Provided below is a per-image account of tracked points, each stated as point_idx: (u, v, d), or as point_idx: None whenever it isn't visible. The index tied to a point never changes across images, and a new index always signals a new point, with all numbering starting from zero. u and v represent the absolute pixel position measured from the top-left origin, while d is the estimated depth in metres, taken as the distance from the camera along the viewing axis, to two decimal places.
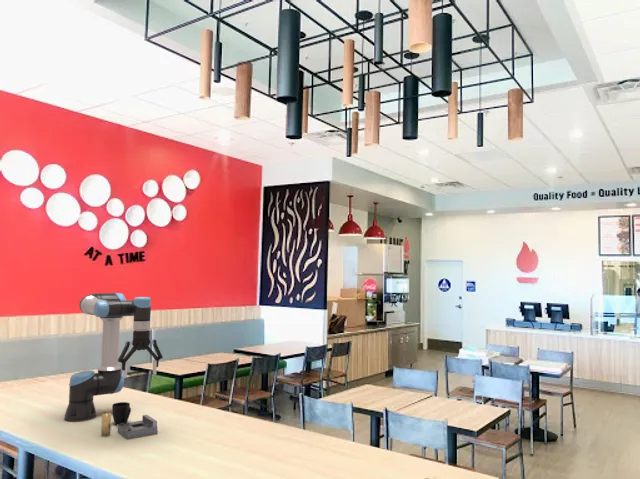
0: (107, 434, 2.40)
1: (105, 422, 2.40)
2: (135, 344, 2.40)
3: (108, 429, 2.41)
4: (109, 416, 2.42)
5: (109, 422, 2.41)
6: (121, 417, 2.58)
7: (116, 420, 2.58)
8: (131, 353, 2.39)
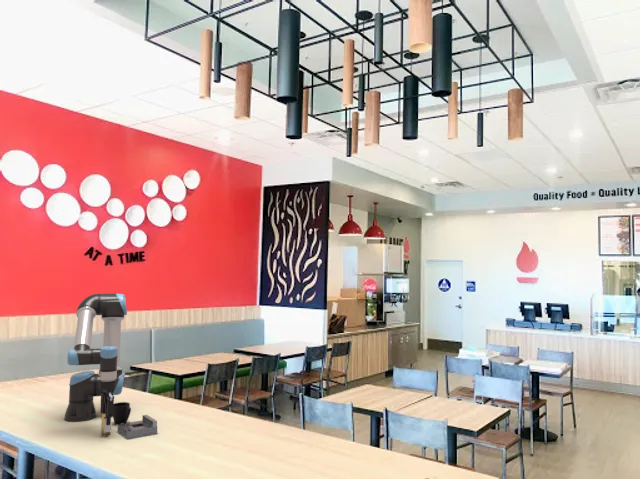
0: (107, 434, 2.40)
1: None
2: None
3: None
4: None
5: None
6: (121, 417, 2.58)
7: (116, 420, 2.58)
8: (102, 404, 2.44)
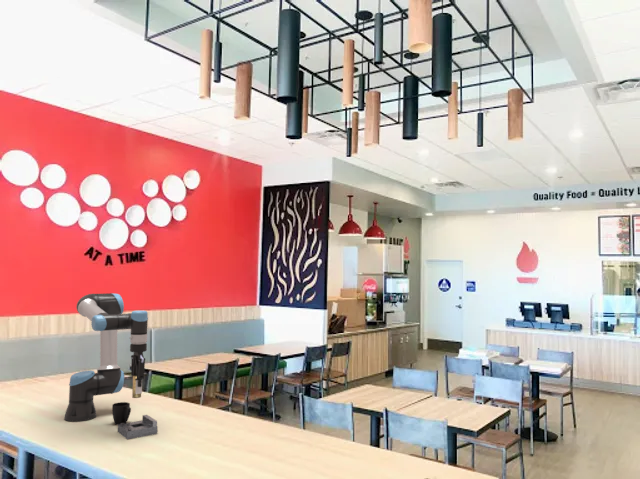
0: (138, 396, 2.45)
1: None
2: None
3: None
4: None
5: None
6: (121, 417, 2.58)
7: (116, 420, 2.58)
8: (133, 367, 2.49)
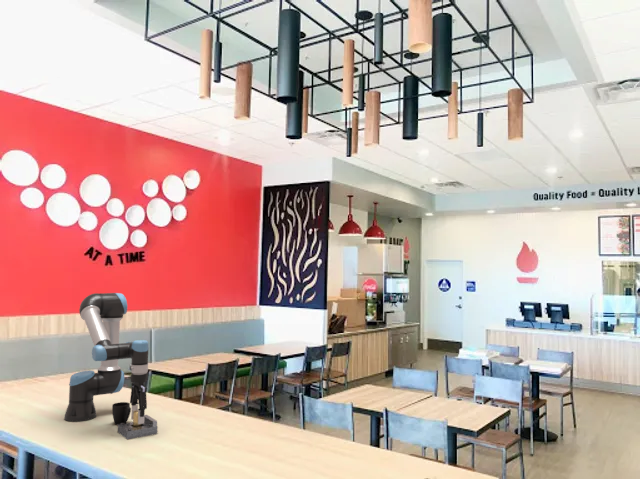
0: None
1: (137, 420, 2.44)
2: None
3: None
4: None
5: None
6: (121, 417, 2.58)
7: (116, 420, 2.58)
8: (133, 395, 2.49)
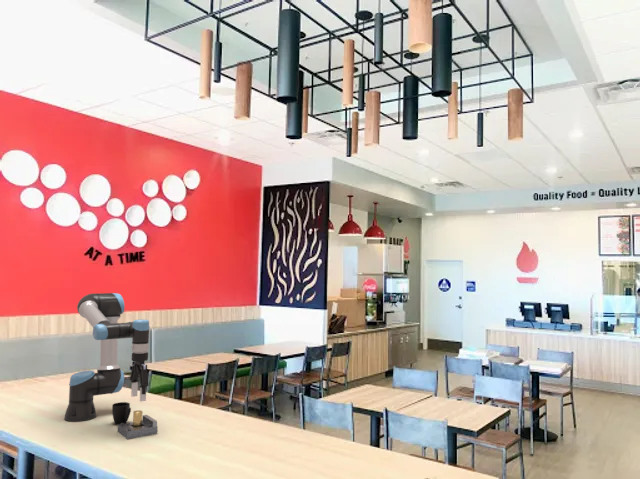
0: None
1: (137, 420, 2.44)
2: (135, 365, 2.50)
3: None
4: (140, 414, 2.46)
5: (140, 420, 2.46)
6: (121, 417, 2.58)
7: (116, 420, 2.58)
8: (133, 373, 2.50)
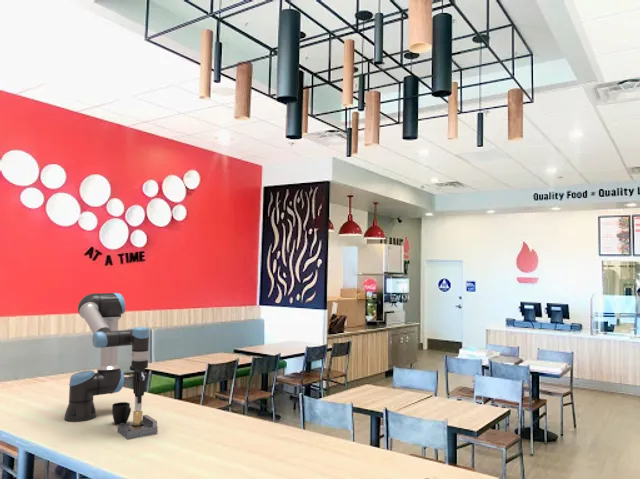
0: None
1: (137, 420, 2.44)
2: None
3: None
4: (140, 414, 2.46)
5: (140, 420, 2.46)
6: (121, 417, 2.58)
7: (116, 420, 2.58)
8: (135, 384, 2.48)
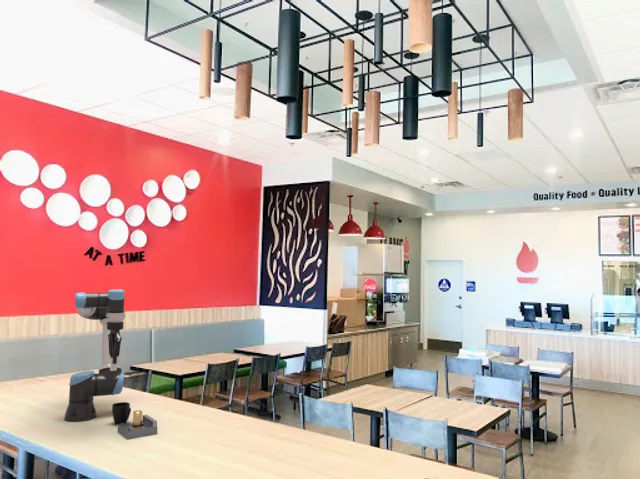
0: None
1: (137, 420, 2.44)
2: None
3: None
4: (140, 414, 2.46)
5: (140, 420, 2.46)
6: (121, 417, 2.58)
7: (116, 420, 2.58)
8: (111, 345, 2.52)
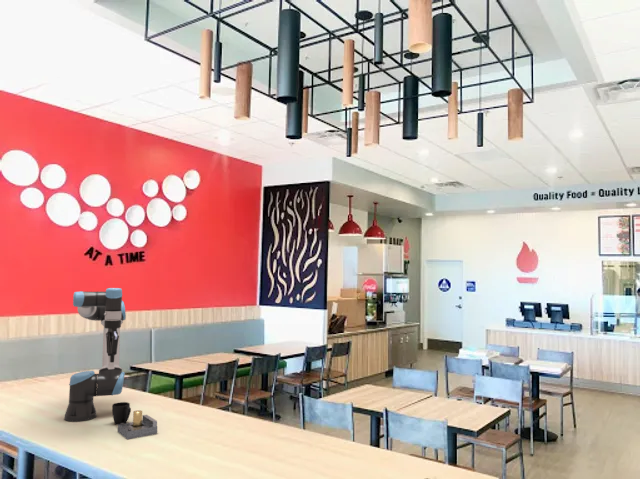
0: None
1: (137, 420, 2.44)
2: None
3: None
4: (140, 414, 2.46)
5: (140, 420, 2.46)
6: (121, 417, 2.58)
7: (116, 420, 2.58)
8: (108, 343, 2.52)
